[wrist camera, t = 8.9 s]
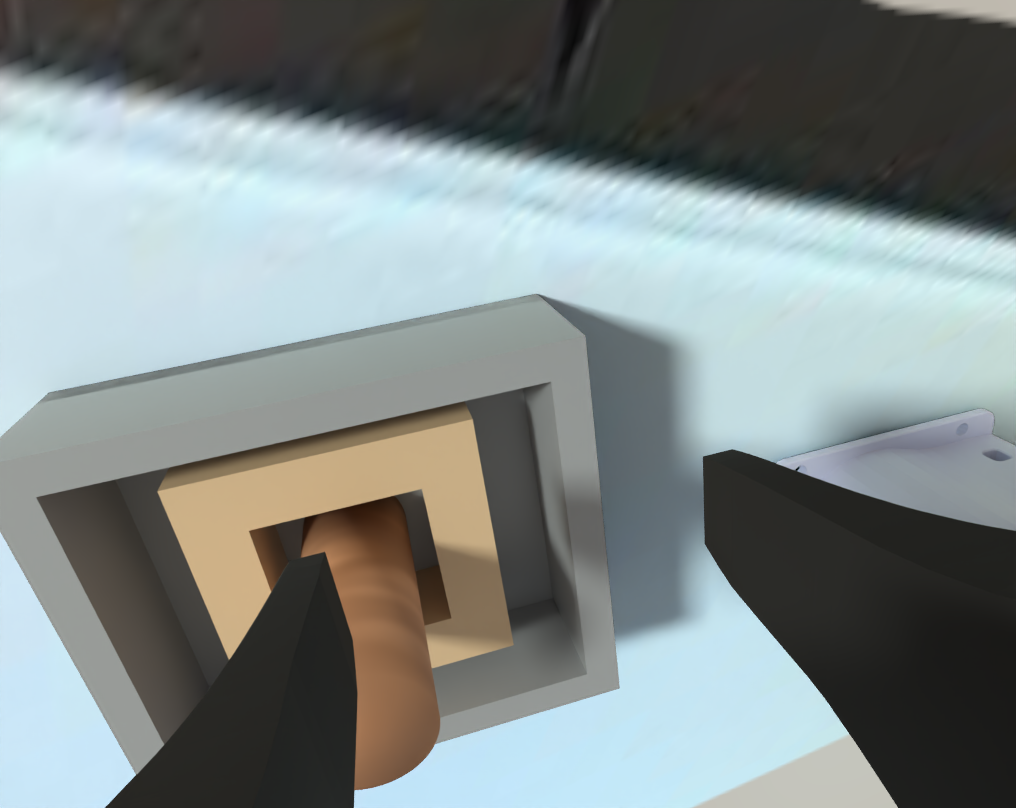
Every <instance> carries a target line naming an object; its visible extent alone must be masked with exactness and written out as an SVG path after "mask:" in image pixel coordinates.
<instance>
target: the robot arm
mask: <svg viewBox="0 0 1016 808" xmlns="http://www.w3.org/2000/svg"><path fill="white" fill-rule="evenodd" d="M993 425H994V415H993V413H991V412H989V411H987V410H985V409H976V410H972V411H968V412H964V413H960V414H956V415H952V416H949V417H945V418H941V419H937V420H933V421H929V422H925V423H921V424H917V425H913V426H910V427H906V428H902V429H898V430H894V431H890V432H886V433H882V434H878V435H875V436H871V437H867V438H863V439H859V440H855V441H851V442H847V443H843V444H840V445H836V446H832V447H828V448H824V449H820V450H816V451H812V452H808V453H804V454H801V455H797V456H793V457H789V458H785V459H782V460H780V461H778V462H777V463H773V462H770V461H768V460H765V459H762V458H759V457H756V456H753V455H750V454H747V453H744V452H740V451H736V450H728V451H724V452H720V453H716V454H712V455H708V456H704V457H703V479H704V528H705V545H706V547H707V548H708V550H709V552H710V553H711V555H712V557H713V558H714V560H715V561H716V563H717V565H718V566H719V568H720V569H721V571H722V573H723V574H724V576H725V577H726V579H727V580H728V582H729V583H730V585H731V586H732V587H733V589H734V590H735V591H736V592H737V594H738V595H739V596H740V597H741V598H742V600H743V601H744V602H745V603H746V604H747V606H748V607H749V608H750V609H751V610H752V612H753V613H754V614H755V615H756V616H757V618H758V619H759V620H760V621H761V622H762V623H763V625H764V626H765V627H766V628H767V629H768V630H769V632H770V633H771V634H772V635H773V636H774V638H775V639H776V640H777V641H778V642H779V643H780V645H781V646H782V647H783V648H784V649H785V650H786V652H787V653H788V654H789V655H790V656H791V657H792V659H793V660H794V661H795V662H796V663H797V664H798V666H799V667H800V668H801V669H802V670H803V672H804V673H805V674H806V675H807V676H808V677H809V679H810V680H811V681H812V683H813V684H814V685H815V686H816V688H817V689H818V690H819V691H820V693H821V694H822V695H823V697H824V698H825V699H826V701H827V702H828V703H829V705H830V706H831V708H832V709H833V711H834V712H835V714H836V715H837V716H838V718H839V719H840V721H841V722H842V724H843V725H844V727H845V728H846V729H847V731H848V732H849V734H850V735H851V737H852V738H853V739H854V741H855V742H856V744H857V745H858V747H859V748H860V750H861V751H862V753H863V754H864V756H865V758H866V759H867V761H868V762H869V764H870V765H871V767H872V768H873V770H874V771H875V773H876V774H877V776H878V777H879V779H880V780H881V782H882V783H883V785H884V786H885V788H886V790H887V791H888V793H889V794H890V796H891V797H892V799H893V800H894V802H895V804H896V805H897V807H898V808H1016V445H1014V444H1012V443H1009V442H1007V441H1005V440H1003V439H1001V438H999V437H997V436H995V435H993V434H992V431H993ZM799 466H800V468H799V469H798V470H797V471H795V469H796V468H797V467H799ZM357 696H358V692H357V679H356V667H355V657H354V646H353V639H352V635H351V632H350V629H349V626H348V623H347V620H346V616H345V613H344V610H343V607H342V604H341V601H340V597H339V594H338V591H337V588H336V585H335V582H334V578H333V575H332V572H331V569H330V566H329V562H328V559H327V556H326V553H325V552H322V553H318V554H314V555H310V556H306V557H302V558H298V559H294V560H290V561H289V563H288V564H287V566H286V567H285V569H284V570H283V572H282V574H281V576H280V577H279V579H278V581H277V583H276V584H275V586H274V588H273V590H272V591H271V593H270V595H269V597H268V598H267V600H266V602H265V603H264V605H263V607H262V609H261V610H260V612H259V614H258V615H257V617H256V619H255V620H254V622H253V623H252V625H251V627H250V628H249V630H248V631H247V633H246V635H245V636H244V638H243V639H242V641H241V643H240V644H239V646H238V647H237V649H236V650H235V652H234V654H233V655H232V657H231V658H230V659H229V661H228V662H227V664H226V665H225V667H224V668H223V669H222V671H221V672H220V674H219V675H218V677H217V678H216V679H215V681H214V682H213V684H212V685H211V687H210V688H209V689H208V691H207V692H206V694H205V695H204V696H203V698H202V699H201V700H200V702H199V703H198V704H197V706H196V707H195V708H194V710H193V711H192V712H191V713H190V715H189V716H188V717H187V718H186V719H185V721H184V722H183V723H182V724H181V725H180V727H179V728H178V729H177V730H176V731H175V733H174V734H173V735H172V736H171V737H170V739H169V740H168V741H167V742H166V743H165V744H164V746H163V747H162V748H161V749H160V750H159V751H158V752H157V754H156V755H155V756H154V757H153V758H152V759H151V760H150V761H149V762H148V763H147V764H146V765H145V766H144V767H143V768H142V769H141V770H140V772H139V773H138V774H137V775H136V776H135V777H134V778H133V779H132V780H131V781H130V782H129V783H128V784H127V785H126V786H125V787H124V788H123V789H122V790H121V792H120V793H119V794H118V795H117V796H116V797H115V798H114V799H113V800H112V801H111V802H110V803H109V804H108V805H107V806H106V807H105V808H354V786H355V759H356V731H357Z"/></svg>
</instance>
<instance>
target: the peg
mask: <svg viewBox="0 0 1016 808" xmlns="http://www.w3.org/2000/svg"><path fill="white" fill-rule="evenodd" d="M322 552H325V553H326V556H327V559H328V562H329V566H330V569H331V572H332V575H333V578H334V582H335V585H336V588H337V591H338V594H339V597H340V601H341V604H342V607H343V610H344V613H345V616H346V620H347V623H348V626H349V629H350V632H351V635H352V639H353V646H354V657H355V667H356V679H357V692H358V696H357V731H356V759H355V786H354V790H362V789H368V788H373V787H377V786H380V785H384V784H386V783H389V782H392V781H394V780H396V779H398V778H400V777H402V776H403V775H405V774H407V773H408V772H410V771H411V770H413V769H414V768H415V767H416V766H418V765H419V764H420V763H421V762H422V761H423V760H424V759H425V758H426V757H427V755H428V754H429V753H430V751H431V750H432V748H433V747H434V745H435V743H436V741H437V738H438V735H439V731H440V714H439V708H438V703H437V697H436V691H435V685H434V679H433V673H432V667H431V661H430V655H429V650H428V644H427V638H426V632H425V626H424V620H423V614H422V608H421V603H420V597H419V591H418V585H417V579H416V573H415V567H414V561H413V555H412V550H411V544H410V538H409V532H408V526H407V520H406V514H405V511H404V509H403V507H402V505H401V503H400V502H399V500H398V499H397V498H396V497H395V496H390V497H386V498H382V499H378V500H374V501H370V502H365V503H361V504H357V505H353V506H349V507H345V508H341V509H337V510H332V511H328V512H324V513H320V514H316V515H312V516H308V517H305V519H304V523H303V534H302V546H301V557H300V558H302V557H306V556H310V555H314V554H318V553H322Z"/></svg>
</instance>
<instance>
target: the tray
mask: <svg viewBox="0 0 1016 808" xmlns="http://www.w3.org/2000/svg"><path fill="white" fill-rule="evenodd" d="M390 496H395V497H396V498H397V499H398V500H399V502H400V503H401V505H402V507H403V509H404V511H405V514H406V520H407V526H408V532H409V538H410V544H411V550H412V555H413V561H414V567H415V573H416V579H417V585H418V591H419V597H420V603H421V608H422V614H423V620H424V626H425V632H426V638H427V644H428V650H429V655H430V661H431V667H432V673H433V679H434V685H435V691H436V697H437V703H438V708H439V714H440V731H439V735H438V738H437V741H436V743H435V744H437V743H440V742H443V741H447V740H450V739H453V738H457V737H460V736H463V735H467V734H470V733H473V732H476V731H480V730H483V729H486V728H490V727H493V726H496V725H500V724H503V723H506V722H510V721H513V720H516V719H519V718H523V717H526V716H529V715H533V714H536V713H539V712H543V711H546V710H549V709H553V708H556V707H559V706H563V705H566V704H569V703H572V702H576V701H579V700H582V699H586V698H589V697H592V696H596V695H599V694H602V693H606V692H609V691H612V690H615V689H619V688H620V687H619V677H618V667H617V656H616V646H615V636H614V626H613V615H612V605H611V595H610V584H609V574H608V564H607V553H606V543H605V533H604V522H603V512H602V502H601V491H600V481H599V471H598V460H597V450H596V440H595V429H594V419H593V409H592V398H591V388H590V378H589V367H588V357H587V347H586V336H585V335H584V334H583V333H582V332H580V331H579V330H578V329H577V328H576V327H575V326H574V325H572V324H571V323H570V322H569V321H568V320H567V319H565V318H564V317H563V316H562V315H561V314H560V313H558V312H557V311H556V310H555V309H554V308H553V307H552V306H550V305H549V304H548V303H547V302H546V301H545V300H543V299H542V298H541V297H540V296H539V295H538V294H533V295H528V296H524V297H519V298H514V299H509V300H504V301H499V302H494V303H489V304H484V305H479V306H474V307H469V308H464V309H459V310H454V311H450V312H445V313H440V314H435V315H430V316H425V317H420V318H415V319H410V320H405V321H400V322H395V323H390V324H385V325H380V326H376V327H371V328H366V329H361V330H356V331H351V332H346V333H341V334H336V335H331V336H326V337H321V338H316V339H311V340H306V341H302V342H297V343H292V344H287V345H282V346H277V347H272V348H267V349H262V350H257V351H252V352H247V353H242V354H237V355H232V356H228V357H223V358H218V359H213V360H208V361H203V362H198V363H193V364H188V365H183V366H178V367H173V368H168V369H163V370H158V371H153V372H149V373H144V374H139V375H134V376H129V377H124V378H119V379H114V380H109V381H104V382H99V383H94V384H89V385H84V386H79V387H75V388H70V389H65V390H60V391H55V392H50V393H48V394H47V395H46V396H45V397H44V398H43V399H42V400H40V401H39V402H38V403H37V404H36V405H35V406H34V407H33V408H32V409H31V410H30V411H28V412H27V413H26V414H25V415H24V416H23V417H22V418H21V419H20V420H19V421H18V422H16V423H15V424H14V425H13V426H12V427H11V428H10V429H9V430H8V431H7V432H6V433H4V434H3V435H2V436H1V437H0V532H1V534H2V535H3V537H4V539H5V541H6V542H7V544H8V546H9V548H10V550H11V551H12V553H13V555H14V557H15V559H16V560H17V562H18V564H19V566H20V568H21V569H22V571H23V573H24V575H25V576H26V578H27V580H28V582H29V584H30V585H31V587H32V589H33V591H34V593H35V594H36V596H37V598H38V600H39V602H40V603H41V605H42V607H43V609H44V611H45V612H46V614H47V616H48V618H49V619H50V621H51V623H52V625H53V627H54V628H55V630H56V632H57V634H58V636H59V637H60V639H61V641H62V643H63V645H64V646H65V648H66V650H67V652H68V653H69V655H70V657H71V659H72V661H73V662H74V664H75V666H76V668H77V670H78V671H79V673H80V675H81V677H82V679H83V680H84V682H85V684H86V686H87V688H88V689H89V691H90V693H91V695H92V696H93V698H94V700H95V702H96V704H97V705H98V707H99V709H100V711H101V713H102V714H103V716H104V718H105V720H106V722H107V723H108V725H109V727H110V729H111V730H112V732H113V734H114V736H115V738H116V739H117V741H118V743H119V745H120V747H121V748H122V750H123V752H124V754H125V756H126V757H127V759H128V761H129V763H130V764H131V766H132V768H133V770H134V772H135V773H136V775H137V774H138V773H139V772H140V770H141V769H142V768H143V767H144V766H145V765H146V764H147V763H148V762H149V761H150V760H151V759H152V758H153V757H154V756H155V755H156V754H157V752H158V751H159V750H160V749H161V748H162V747H163V746H164V744H165V743H166V742H167V741H168V740H169V739H170V737H171V736H172V735H173V734H174V733H175V731H176V730H177V729H178V728H179V727H180V725H181V724H182V723H183V722H184V721H185V719H186V718H187V717H188V716H189V715H190V713H191V712H192V711H193V710H194V708H195V707H196V706H197V704H198V703H199V702H200V700H201V699H202V698H203V696H204V695H205V694H206V692H207V691H208V689H209V688H210V687H211V685H212V684H213V682H214V681H215V679H216V678H217V677H218V675H219V674H220V672H221V671H222V669H223V668H224V667H225V665H226V664H227V662H228V661H229V659H230V658H231V657H232V655H233V654H234V652H235V650H236V649H237V647H238V646H239V644H240V643H241V641H242V639H243V638H244V636H245V635H246V633H247V631H248V630H249V628H250V627H251V625H252V623H253V622H254V620H255V619H256V617H257V615H258V614H259V612H260V610H261V609H262V607H263V605H264V603H265V602H266V600H267V598H268V597H269V595H270V593H271V591H272V590H273V588H274V586H275V584H276V583H277V581H278V579H279V577H280V576H281V574H282V572H283V570H284V569H285V567H286V566H287V564H288V563H289V561H290V560H294V559H298V558H300V557H301V546H302V534H303V523H304V519H305V517H308V516H312V515H316V514H320V513H324V512H328V511H332V510H337V509H341V508H345V507H349V506H353V505H357V504H361V503H365V502H370V501H374V500H378V499H382V498H386V497H390Z"/></svg>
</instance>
